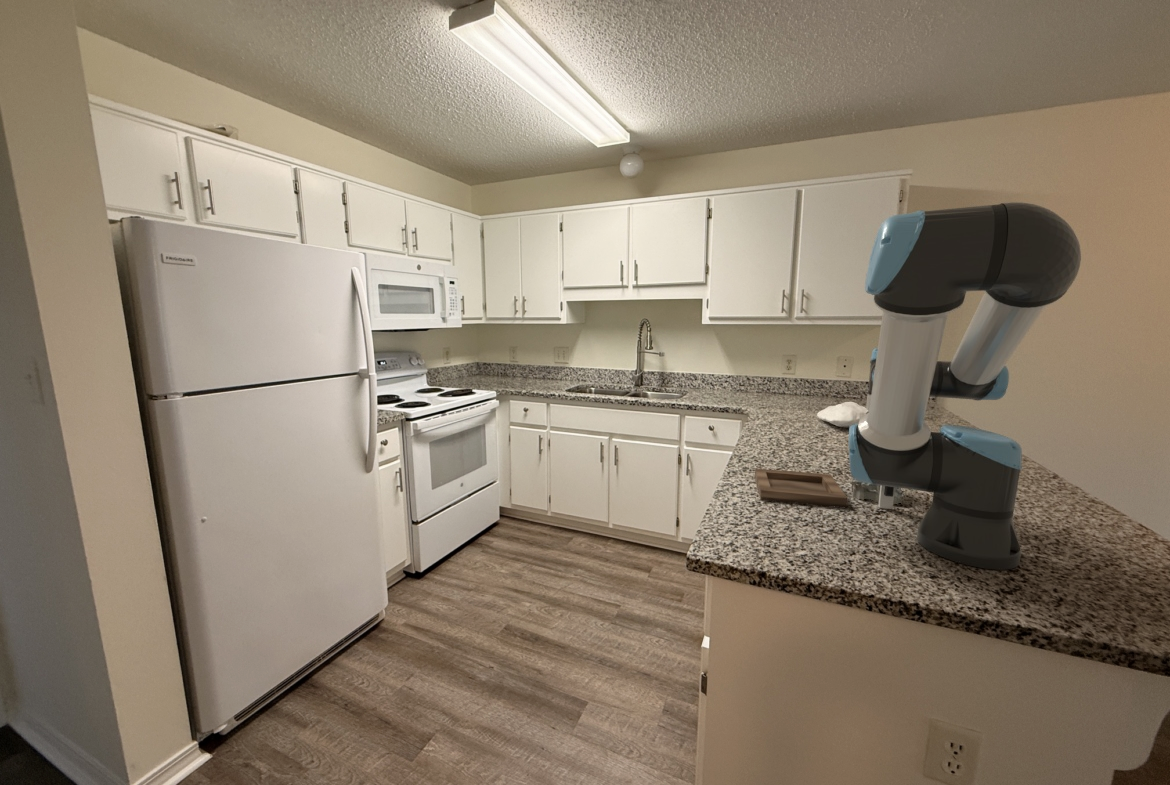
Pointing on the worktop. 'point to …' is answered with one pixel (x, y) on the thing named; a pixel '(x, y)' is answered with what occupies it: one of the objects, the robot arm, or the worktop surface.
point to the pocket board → (799, 488)
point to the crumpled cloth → (843, 414)
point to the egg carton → (872, 491)
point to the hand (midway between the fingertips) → (875, 497)
